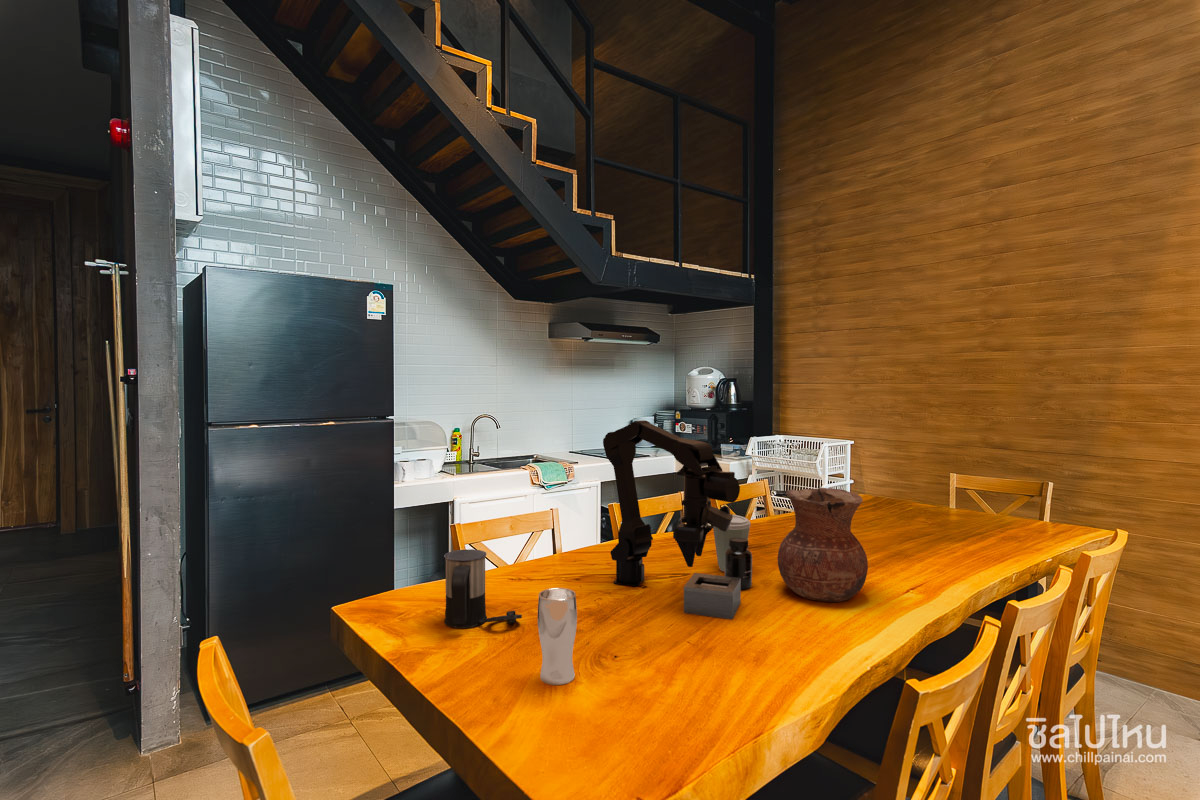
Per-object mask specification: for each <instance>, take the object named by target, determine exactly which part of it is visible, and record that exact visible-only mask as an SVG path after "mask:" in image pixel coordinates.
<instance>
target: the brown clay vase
mask: <svg viewBox="0 0 1200 800" xmlns="http://www.w3.org/2000/svg"><path fill="white" fill-rule="evenodd" d="M785 494H786V496H787V497H788V499H789V500H790V503H791V505H792V508H793V512H794V516H795V523H794V524H795V526H794V527H793V529H791V530H790V531H789V532H788V534H786V536H785V537H784V538H783V539H782V541H781V543H780V545H779V549H778V550H777V551H778V552H777V557H776V558H777V567H778V570H779V573H780V574H779V575H780V576H781V578H782V580H783V582H784V583H785V585H786V586H787V587H788V588H789V589H790V590H791V591H792V592H793V593H795V594H797V595H798V596H800V597H802V598H804V599H807V600H813V601H818V602H823V603H840V602H841V603H842V602H846V601H849V600H850V599H852V598H853V597H854V596H855V595H857V594H858V593H859V592H860V591H861V590H862V589H863V586H864V584H865V583H866V579H867V576H868V575H867V574H868V570H869V567H868V566H869V565H868V564H869V562H868V556H867V554H866V551H865V549H864V547H863V545H862V544H861V543H860V541H859V539H858V538H857V537H856V536H855V534H853V533H852V530H851V529H852V528H851V527H852V521H853V517H854V515H855V513H856V511H857V510H858V509H859V507H860V506H861V505H862V503H863V498H862V496H861V495H859V494H857V493H855V492H850V491H847V490H845V489H841V488H840V489H839V488H830V487H829V488H828V487H827V488H826V487H818V488H803V489H800V490H796V489H789V490H786V492H785Z"/></svg>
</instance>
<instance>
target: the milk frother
mask: <svg viewBox="0 0 1200 800" xmlns="http://www.w3.org/2000/svg"><path fill="white" fill-rule="evenodd" d="M443 557H444V558H445V611H444V613H445V615H444V616H445V617H444V620H443V622H444V624H445V625H446V626H448V627H450V628H455V629H456V628H457V629H468V628H474V627H478V626H481V625H482V624H484V623H493V622H500V621H501V622H502V621H506V622H507V624H509V625H511V624H515V623H517V619H519V620H520V619H522V618H523V615H522V614H516V611H515V610H510V611H509V610H508V611H506V615H500V616H492V617H488V616H487V610H486V609H487V608H486V606H487V605H486V557H487V552H486V551H484V550H480V549H474V548H473V549H465V548H463V549H457V550H451V551H449V552H446V553H445V554H444V555H443Z"/></svg>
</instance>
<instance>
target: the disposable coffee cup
mask: <svg viewBox="0 0 1200 800" xmlns="http://www.w3.org/2000/svg"><path fill="white" fill-rule="evenodd" d="M732 516H733V518H732V520H731V523H730V525H729V528H728V529H727V531H726V532H724V531H721V530H720V529H719V528H717V527H715V526H714V528H713V529H712V530H713V537H714V545H715V552H716V559H717V565H718V567H719V570H720V571H721V572H724V573H725V552H726V550H727V549H729V548H730V547H729V539H730V538H745V539H747V540H748V541H749V534H750V528H751V521H750V520H749V519H748V518H747V517H745V516H741V515H738V514H732Z"/></svg>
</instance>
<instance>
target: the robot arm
mask: <svg viewBox="0 0 1200 800" xmlns="http://www.w3.org/2000/svg"><path fill="white" fill-rule="evenodd" d="M643 440H644V441H645V442H647V443H649V444H651V445H653V446H656V447H658V448H659V449H661V450H664V451H666V452H668V453H670V454H671V455H672V456H673V457H674V459H675V460H676V461H677V462H678V463H679V464H680V465H682V467H681V468H680V469H679V470H678V471H676V475H677V476H682V477H683V499H682V500H681V506H683V516H682V517H681V519H680V520H681V521H680V522H681V523H679V524H678V525H677V526H676V527H675V528H674V529H673V530H672V533H673V534H672V536H673V537H672V538H673V539H674V540H675V542H676V543H677V545H678V547H679V550H680V551H681V554H682V556H683V559H684V562H685V563H686V565H687V567H688V568H693V566H694V562H695V557H701V556H702V554H703V550H704V546H705V542H706V539H707V535H708V533H710V532H711V531H712V530H713V528H714V526H715V527H717V528H719V529H720V530H721V531H724V532H726V531H727V529H728V528H729V525H730V523H731V520H732V518H733V516H732V515H733V513H731V508H730V507H729V506H728V505H723V506H722V507H720V508H719V507H714V506H712V501H711V500H716V501H720V502H726V503H735V502H736V501H737V499H738V497H739V495H740V492H741V486H740V482H739V480H738V478H736V477H735V476H736V473H735V471H723V469H722V467H721V465H720V463H719V462H718V460H717V458H716V456H715V455H714V451H713V449H712V445H710V444H709V443H708V442H704V441H700V440H696V439H689V438H684V437H681V436H678V435H676V434H674V433H672V432H670V431H668V430H665V429H663V428H661V427H659V426H658V425H657V426H656V425H655V424H653V423H651V422H650V421H648V420H646V419H645V420H635V421H632V422H630V423H629V424H627V425H626V426H624V427H620V428H619V429H616V430H614V431H609V432H607V434H605V436H604V438H603V439H602V444H603V445H602V446H603V450H604V453H605V457H606V458H607V459H608V461H609V462H610V463H611V466H613V471H614V477H615V479H614V480H615V484H616V485H615V486H616V491H617V497H618V504H619V510H620V511H619V512H620V516H621V517H620V518H621V524H620V526H619V529H618V532H617V539H618V540H617V544H616V545H615V546H614V547H613V548H612V549H611V551H609V552H610V556H611V560H612V561H615V565H616V567H615V571H616V572H615V574H616V575H615V576H616V577H615V580H614V581H613V584H615V585H622V586H630V587H631V586H632V587H638V586H639V585H640V584H641V583H642V582H644V581H645V564H644V563H643V558H647V556H648V553H649V550H650V548H652V541H653V540H654V537H653V535H652V526H651V525H650V524H649V523H648V524H646V523H645V522H644V520H643V519H642V517H641V510H640V505H639V499H638V492H637V487H636V478H635V474H634V467H633V463H634V460H635V457H636V453H637V447H636V446H637V445H638V444H640V443H641V442H642V441H643ZM695 555H696V556H695Z"/></svg>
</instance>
